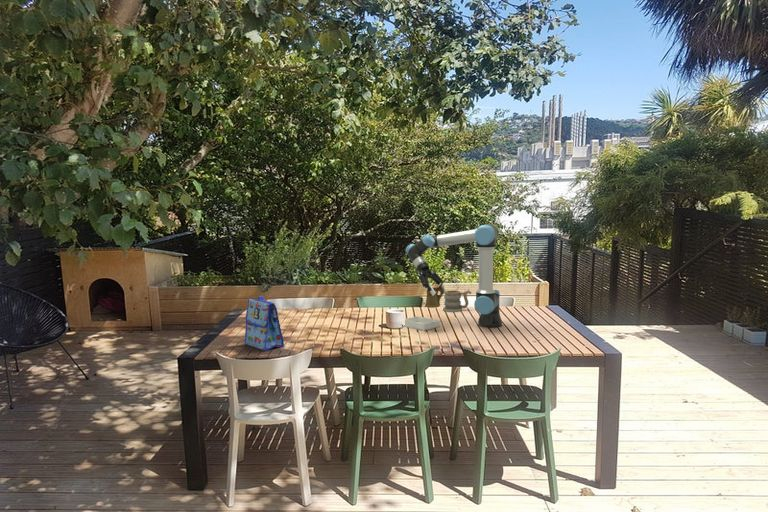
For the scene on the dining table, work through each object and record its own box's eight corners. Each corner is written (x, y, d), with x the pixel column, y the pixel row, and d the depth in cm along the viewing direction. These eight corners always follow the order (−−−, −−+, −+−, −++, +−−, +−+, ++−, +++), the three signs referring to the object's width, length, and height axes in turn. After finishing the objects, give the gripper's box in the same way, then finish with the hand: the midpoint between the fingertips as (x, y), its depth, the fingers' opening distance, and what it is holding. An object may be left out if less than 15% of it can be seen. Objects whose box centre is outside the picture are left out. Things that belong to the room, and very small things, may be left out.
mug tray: (439, 326, 342) (439, 320, 342) (424, 330, 332) (424, 324, 332) (417, 322, 357) (417, 316, 356) (401, 325, 347) (401, 319, 346)
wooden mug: (446, 308, 326) (446, 278, 324) (424, 307, 329) (423, 278, 327) (447, 304, 335) (447, 276, 333) (426, 304, 338) (425, 276, 335)
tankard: (442, 311, 387) (442, 291, 386) (445, 308, 400) (445, 288, 398) (470, 313, 382) (470, 292, 380) (472, 309, 394) (472, 289, 392)
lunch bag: (244, 344, 309) (241, 295, 306) (264, 340, 318) (262, 292, 316) (264, 351, 294) (262, 299, 291) (285, 346, 303) (283, 296, 300)
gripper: (430, 267, 348) (448, 295, 337) (406, 270, 335) (424, 299, 324) (436, 260, 343) (454, 287, 333) (411, 262, 330) (430, 291, 319)
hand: (439, 293), depth 328 cm, fingers closed on wooden mug, 8 cm apart
